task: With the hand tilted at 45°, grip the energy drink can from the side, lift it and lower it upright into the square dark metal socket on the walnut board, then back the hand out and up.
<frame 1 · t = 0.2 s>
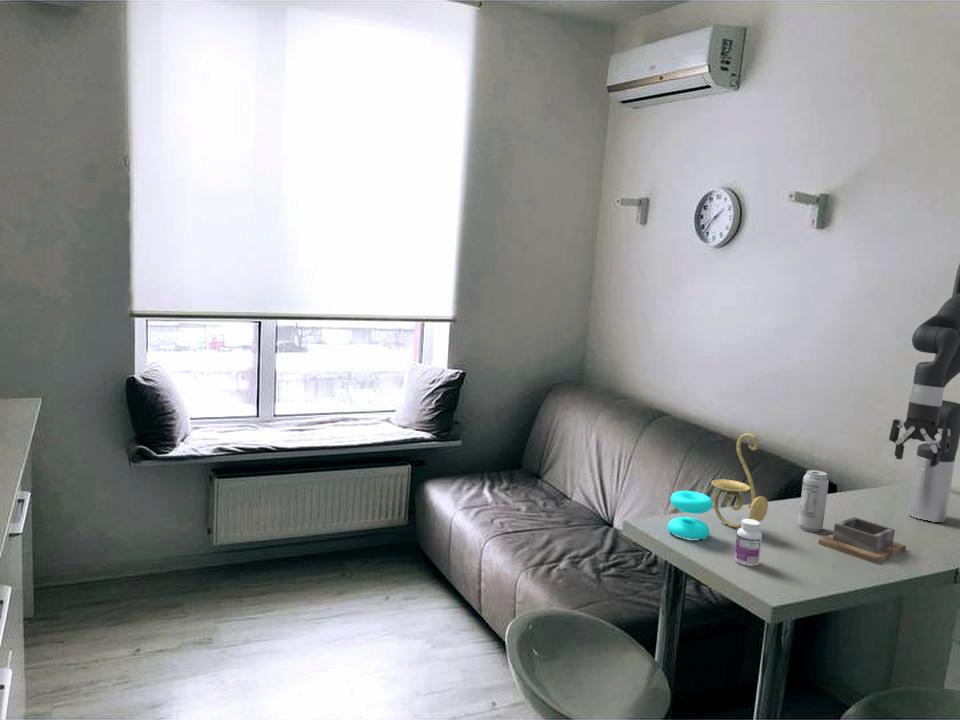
hand: (915, 462, 211), 18 cm above the table, tool pointing down, fingers open, 8 cm apart
socket board: (861, 547, 195), on the table
wall sconce: (733, 528, 204), on the table
energy drink can: (809, 529, 207), on the table
donuts: (687, 535, 196), on the table
pill bottle: (746, 563, 181), on the table
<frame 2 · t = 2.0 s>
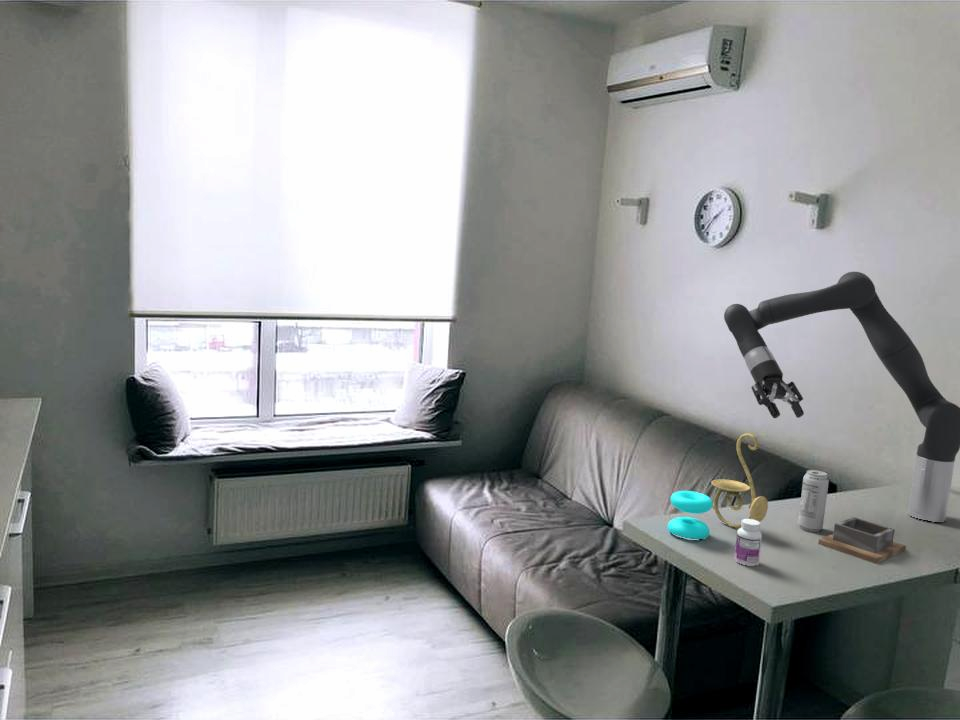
hand: (789, 416, 213), 27 cm above the table, tool tilted 45°, fingers open, 8 cm apart
nothing on the table moved.
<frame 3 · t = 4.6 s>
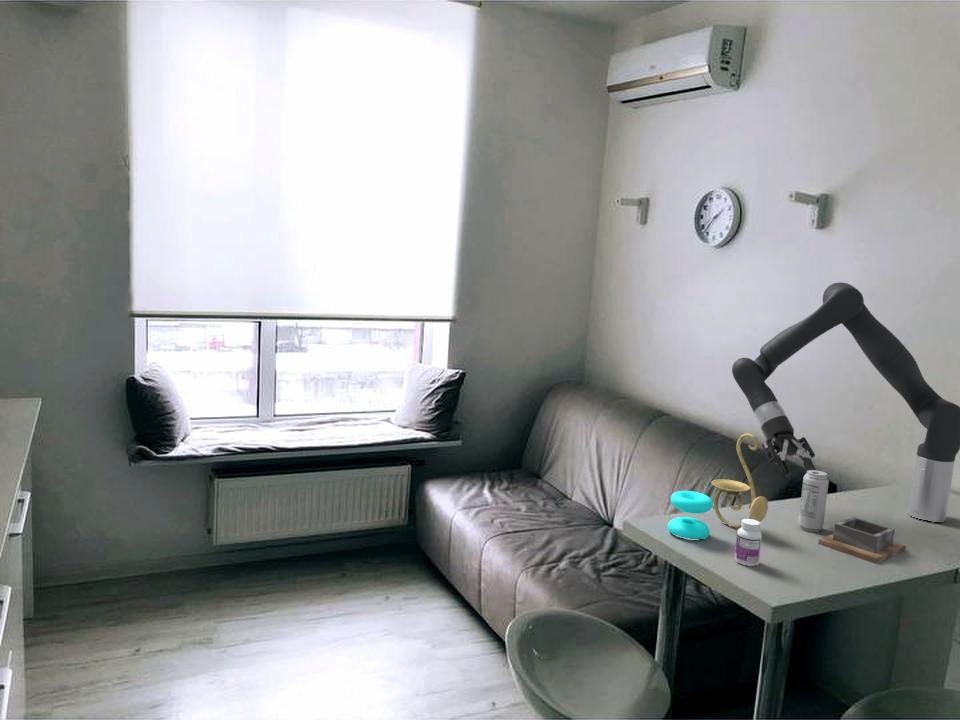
hand: (800, 474, 209), 13 cm above the table, tool tilted 45°, fingers open, 8 cm apart
nothing on the table moved.
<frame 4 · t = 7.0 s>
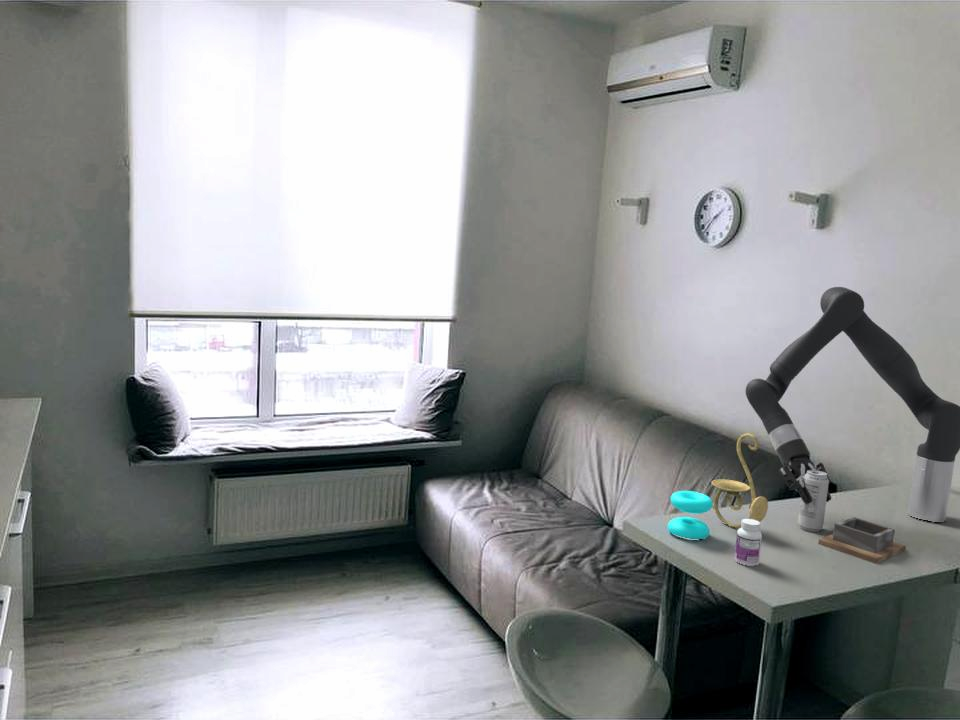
hand: (818, 501, 204), 8 cm above the table, tool tilted 45°, fingers closed on energy drink can, 6 cm apart
energy drink can: (809, 529, 207), on the table, touching gripper
everything else where it was.
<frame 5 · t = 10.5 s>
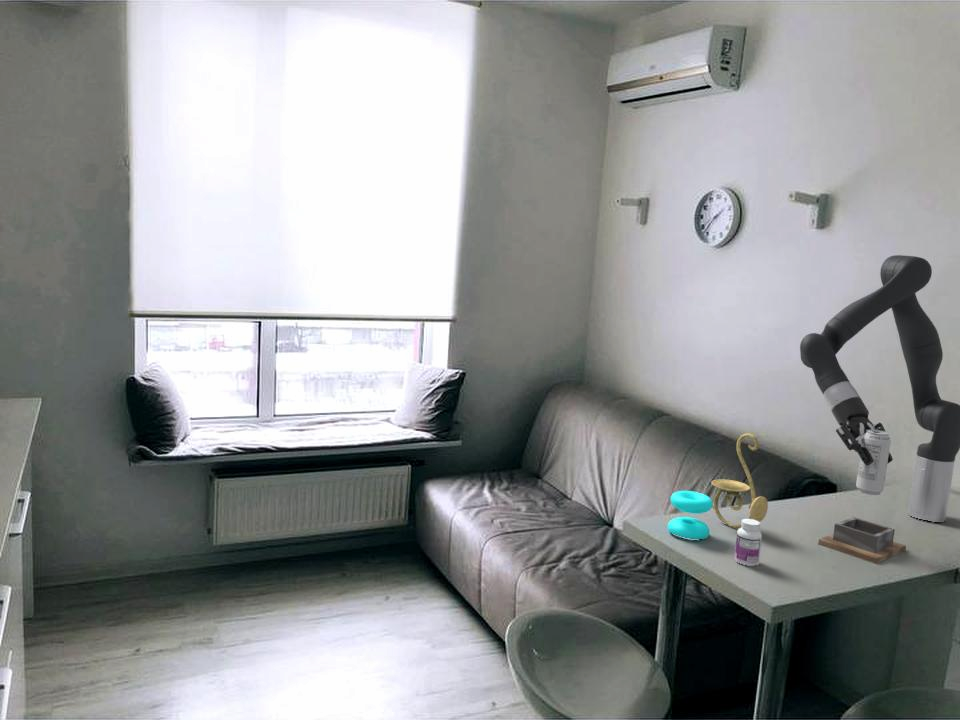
hand: (879, 462, 191), 22 cm above the table, tool tilted 45°, fingers closed on energy drink can, 6 cm apart
energy drink can: (868, 492, 194), point 14 cm above the table, touching gripper
everything else where it was.
when the fingers open (10 cm above the table, at t = 14.0 s): energy drink can drops 1 cm, resting on socket board.
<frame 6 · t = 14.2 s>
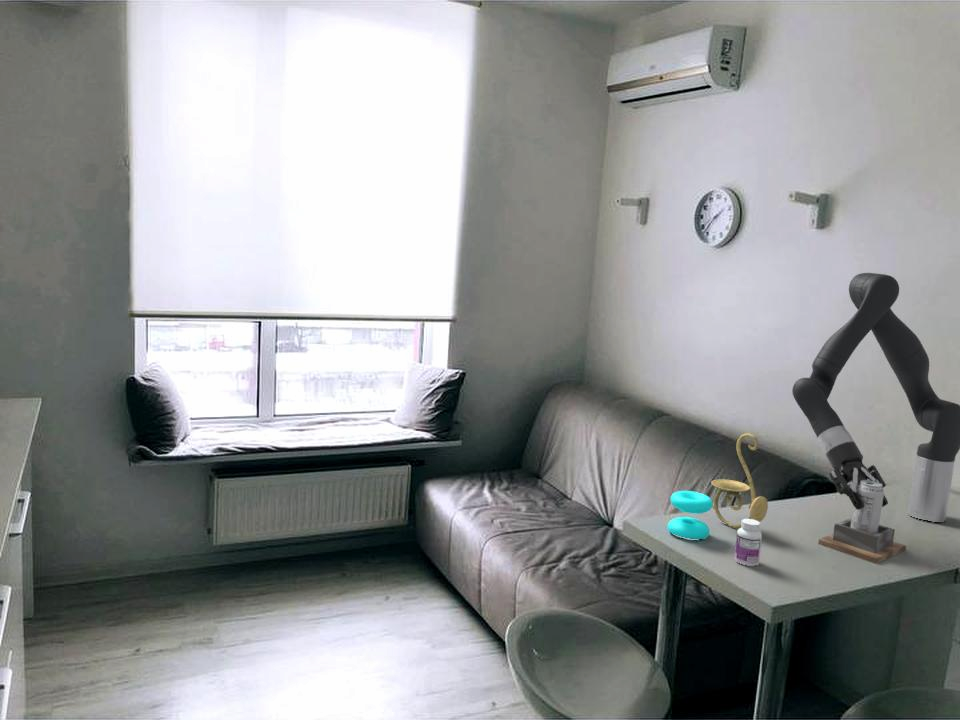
hand: (872, 506, 193), 11 cm above the table, tool tilted 45°, fingers open, 7 cm apart
energy drink can: (861, 542, 196), point 1 cm above the table, touching socket board
everything else where it was.
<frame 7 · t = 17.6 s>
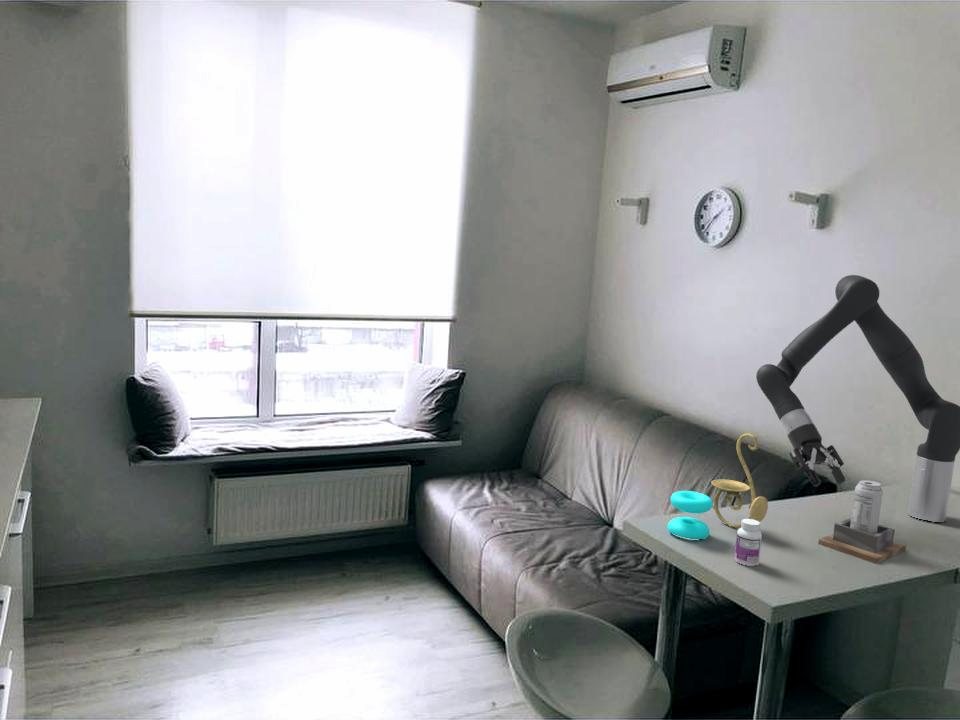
hand: (830, 483, 204), 12 cm above the table, tool tilted 45°, fingers open, 8 cm apart
nothing on the table moved.
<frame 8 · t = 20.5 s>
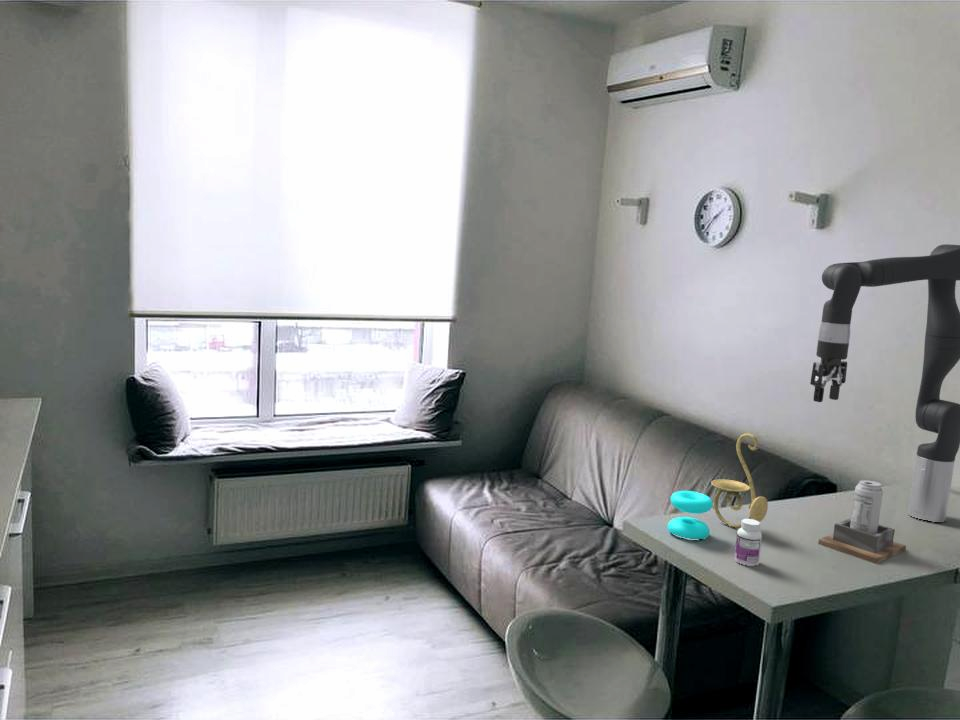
hand: (825, 400, 212), 32 cm above the table, tool pointing down, fingers open, 8 cm apart
nothing on the table moved.
at the end: energy drink can 0.2 cm off-centre on the socket board, point 1.0 cm above the socket board's base; energy drink can tilted 0°; the gripper is holding nothing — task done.
